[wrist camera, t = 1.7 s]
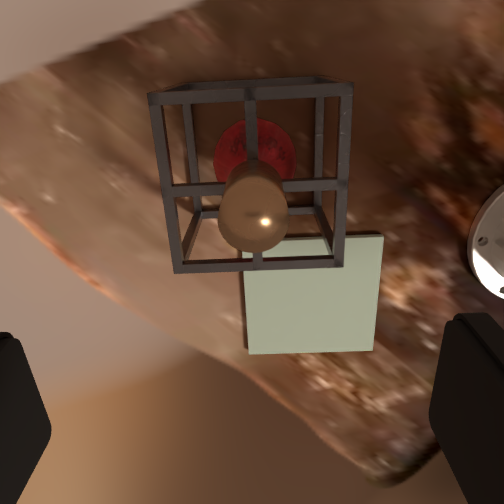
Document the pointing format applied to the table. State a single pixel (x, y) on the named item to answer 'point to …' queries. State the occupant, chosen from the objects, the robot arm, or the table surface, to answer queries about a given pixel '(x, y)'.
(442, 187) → the table surface
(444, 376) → the robot arm
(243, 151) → the onion
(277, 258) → the dark grey metal frame
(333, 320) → the mat
